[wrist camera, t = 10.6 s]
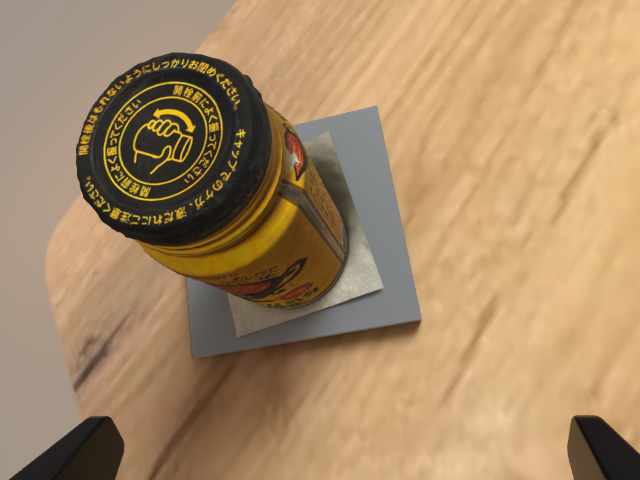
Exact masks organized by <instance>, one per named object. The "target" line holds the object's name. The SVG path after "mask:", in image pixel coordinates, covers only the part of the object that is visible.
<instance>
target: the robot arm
mask: <svg viewBox="0 0 640 480" xmlns="http://www.w3.org/2000/svg"><path fill="white" fill-rule="evenodd" d="M567 451H568V458H569V462H570V466H571V470H572V474H573V477H574V480H640V454H639V453H638V452H637V451H636V450H635V449H634V448H633V447H632V446H631V445H630V444H629V443H628V442H627V441H625V440H624V439H623V438H622V437H621V436H620V435H619V434H618V433H617V432H616V431H615V430H614V429H613V428H612V427H611V426H610V425H608V424H607V423H606V422H605V421H604V420H603V419H602V418H600V417H599V416H595V415H576V416H574V417H573V418H572V420H571V425H570V431H569V438H568V444H567ZM123 453H124V441H123V439H122V437H121V435H120V433H119V431H118V429H117V427H116V425H115V424H114V422H113V420H112V419H111V418H110V417H108V416H92V417H89V418H87V419H86V420H84V421H83V422H82V423H81V424H79V425H78V426H77V427H75V428H74V429H73V430H72V431H70V432H69V433H68V434H67V435H65V436H64V437H63V438H61V439H60V440H59V441H58V442H56V443H55V444H54V445H52V446H51V447H50V448H49V449H47V450H46V451H45V452H44V453H42V454H41V455H40V456H38V457H37V458H36V459H35V460H33V461H32V462H31V463H30V464H28V465H27V466H26V467H24V468H23V469H22V470H21V471H19V472H18V473H17V474H16V475H14V476H13V477H12V478H10V479H9V480H115V478H116V475H117V472H118V469H119V466H120V463H121V460H122V457H123Z"/></svg>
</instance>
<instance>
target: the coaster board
mask: <svg viewBox="0 0 640 480" xmlns="http://www.w3.org/2000/svg"><path fill="white" fill-rule="evenodd" d="M292 127H293V128H294V130H295V131H296V133H297V134H298V136H299V138H300V140H301V141H302V143H303V142H305V141H308V140H311V139H312V138H314V137H316V136H318V135H321V134H324V133H326V132H328V131H329V134H330V137H331V140H332V143H333V146H334V149H335V151H336V154H337V157H338V160H339V162H340V165H341V168H342V171H343V174H344V176H345V179H346V182H347V185H348V188H349V191H350V194H351V196H352V199H353V202H354V205H355V208H356V211H357V213H358V216H359V219H360V222H361V225H362V227H363V230H364V233H365V236H366V239H367V242H368V245H369V247H370V250H371V253H372V256H373V259H374V261H375V264H376V267H377V270H378V273H379V276H380V278H381V281H382V284H383V287H384V288H381V289H378V290H375V291H372V292H370V293H367V294H364V295H361V296H358V297H355V298H351V299H349V300H347V301H344V302H341V303H338V304H335V305H333V306H330V307H327V308H324V309H321V310H318V311H315V312H312V313H309V314H306V315H304V316H301V317H298V318H295V319H292V320H289V321H286V322H283V323H280V324H277V325H274V326H270V327H268V328H265V329H262V330H258V331H256V332H253V333H250V334H247V335H244V336H241V337H238V338H237V336H236V329H235V325H234V320H233V316H232V312H231V309H230V303H229V299H228V295H227V292H226V291H223V290H220V289H218V288H215V287H213V286H211V285H208V284H206V283H203V282H201V281H197V280H193V279H191V278H187V291H188V307H189V322H190V337H191V352H192V358H205V357H211V356H217V355H223V354H229V353H234V352H240V351H246V350H252V349H258V348H264V347H270V346H276V345H282V344H288V343H294V342H300V341H306V340H311V339H317V338H323V337H329V336H335V335H341V334H347V333H353V332H359V331H365V330H371V329H377V328H383V327H388V326H394V325H400V324H406V323H412V322H418V321H422V318H421V313H420V308H419V304H418V299H417V294H416V289H415V285H414V280H413V275H412V270H411V266H410V261H409V256H408V251H407V246H406V242H405V237H404V232H403V227H402V223H401V218H400V213H399V208H398V204H397V199H396V194H395V189H394V185H393V180H392V175H391V170H390V165H389V161H388V156H387V151H386V146H385V142H384V137H383V132H382V127H381V123H380V118H379V113H378V108H377V106H373V107H369V108H365V109H361V110H356V111H352V112H348V113H344V114H340V115H336V116H331V117H327V118H323V119H319V120H315V121H310V122H306V123H302V124H298V125H294V126H292Z"/></svg>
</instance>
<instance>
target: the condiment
mask: <svg viewBox="0 0 640 480" xmlns="http://www.w3.org/2000/svg"><path fill="white" fill-rule="evenodd" d="M76 154H77V155H76V165H77V176H78V180H79V182H80V188H81V191H82V194H83V198H84V199H85V200H86V201H87V202H88V203H89V204H90V205H91V206H92V208H93V209H94V210H95V211H96V212H97V214H98V216H99V218H100V219H101V220H102V222H104V223H105V224H107V225H108V226H110V227H111V228H112V229H113V230H115V231H117V232H121V233H122V234H124V235H125V237H127V238H131V239H134V240H135V241H137V242H138V243H139V244H140V245H141V246H142V248H143V249H144V251H145V252H146V253H147V254H149V255H150V256H151V257H152V258H153V259H155V260H156V261H157V262H159V263H160V264H162V265H164V266H166V267H167V268H169V269H171V270H172V271H174V272H176V273H177V274H181V275H183V276H185V277H187V278H191V279H193V280H197V281H201V282H203V283H206V284H208V285H211V286H213V287H215V288H218V289H220V290H223V291H226V292H227V295H228V299H229V303H230V309H231V312H232V316H233V320H234V325H235V329H236V336H237V338H238V337H241V336H244V335H247V334H250V333H253V332H256V331H258V330H262V329H265V328H268V327H270V326H274V325H277V324H280V323H283V322H286V321H289V320H292V319H295V318H298V317H301V316H304V315H306V314H309V313H312V312H315V311H318V310H321V309H324V308H327V307H330V306H333V305H335V304H338V303H341V302H344V301H347V300H349V299H351V298H355V297H358V296H361V295H364V294H367V293H370V292H372V291H375V290H378V289H381V288H384V287H383V284H382V281H381V278H380V276H379V273H378V270H377V267H376V264H375V261H374V259H373V256H372V253H371V250H370V247H369V245H368V242H367V239H366V236H365V233H364V230H363V227H362V225H361V222H360V219H359V216H358V213H357V211H356V208H355V205H354V202H353V199H352V196H351V194H350V191H349V188H348V185H347V182H346V179H345V176H344V174H343V171H342V168H341V165H340V162H339V160H338V157H337V154H336V151H335V149H334V146H333V143H332V140H331V137H330V134H329V131H328V132H326V133H324V134H321V135H318V136H316V137H314V138H312V139H311V140H308V141H305V142H303V143H302V141H301V140H300V138H299V136H298V134H297V133H296V131H295V130H294V128H293V127H292V125H291V124H290V123H289V122H288V121H287V119H285V118H284V117H283V116H282V115H281V114H280V113H279V112H277V111H276V110H275V109H273V108H272V107H271V106H269V105H268V104H266V103H265V102H263V100H262V95H261V93H260V92H259V91H258V90H257V89H256V88H255V87H254V86H253V83H252V80H251V78H250V77H249V76H247V75H243V74H242V73H241V72H240V71H239V70H238V69H236V68H235V67H234V66H232V65H230V64H229V63H227V62H225V61H222V60H220V59H216V58H211V57H208V56H205V55H201V54H188V53H170V54H166V55H163V56H159V57H155V58H152V59H150V60H148V61H146V62H144V63H140V64H137V65H136V66H134V67H133V68H131V69H130V70H129V71H127V72H125V73H124V74H122V75H121V76H118V77H117V78H116V79H115V80H114V81H113V82H112V83H111V84H110V85H109V87H108V88H107V89H106V90H105V91H104V92H103V94H102V95H101V96H100V97H99V98H98V100H97V101H96V102H95V104H94V105H93V107H92V109H91V110H90V112H89V114H88V116H87V119H86V120H85V122H84V125H83V128H82V132H81V135H80V138H79V142H78V144H77V147H76Z"/></svg>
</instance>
